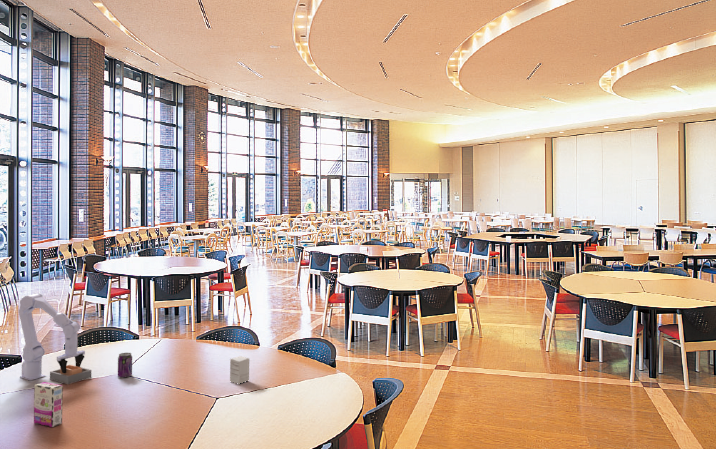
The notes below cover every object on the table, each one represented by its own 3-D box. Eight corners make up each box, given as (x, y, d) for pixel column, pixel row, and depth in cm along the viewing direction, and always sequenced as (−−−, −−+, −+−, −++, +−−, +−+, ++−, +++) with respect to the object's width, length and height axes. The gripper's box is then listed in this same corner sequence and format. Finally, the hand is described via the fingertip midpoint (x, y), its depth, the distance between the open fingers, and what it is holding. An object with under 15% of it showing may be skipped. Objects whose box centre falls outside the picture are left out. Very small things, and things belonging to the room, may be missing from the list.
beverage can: (126, 378, 272) (126, 356, 272) (114, 377, 274) (115, 355, 273) (134, 374, 279) (135, 352, 279) (123, 373, 281) (123, 351, 280)
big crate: (49, 379, 268) (49, 371, 268) (73, 372, 280) (73, 365, 280) (68, 384, 261) (68, 376, 261) (91, 377, 273) (91, 369, 273)
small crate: (60, 376, 270) (60, 367, 270) (69, 373, 275) (70, 364, 275) (72, 379, 266) (72, 370, 266) (81, 377, 271) (82, 367, 271)
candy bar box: (63, 423, 215) (63, 384, 215) (52, 428, 211) (52, 388, 210) (44, 418, 219) (44, 381, 219) (33, 423, 215) (33, 384, 214)
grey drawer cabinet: (240, 378, 278) (240, 355, 278) (249, 381, 274) (249, 358, 273) (229, 382, 272) (229, 358, 272) (238, 385, 268) (239, 361, 267)
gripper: (62, 349, 262) (62, 376, 262) (88, 343, 275) (88, 368, 275) (54, 347, 265) (53, 373, 265) (80, 341, 278) (79, 366, 278)
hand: (70, 370), depth 270 cm, fingers open, 7 cm apart
